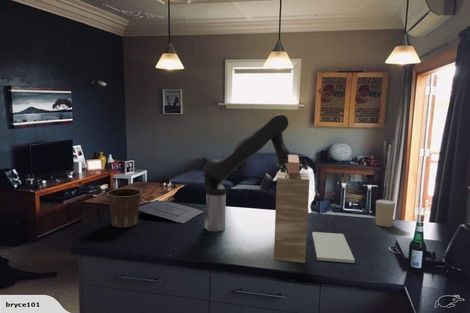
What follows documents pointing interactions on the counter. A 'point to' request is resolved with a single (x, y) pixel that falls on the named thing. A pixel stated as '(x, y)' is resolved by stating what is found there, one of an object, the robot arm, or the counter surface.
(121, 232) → the counter surface
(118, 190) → the plant pot
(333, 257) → the board
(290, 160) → the bar
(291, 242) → the stand
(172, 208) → the papers
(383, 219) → the coffee cup
